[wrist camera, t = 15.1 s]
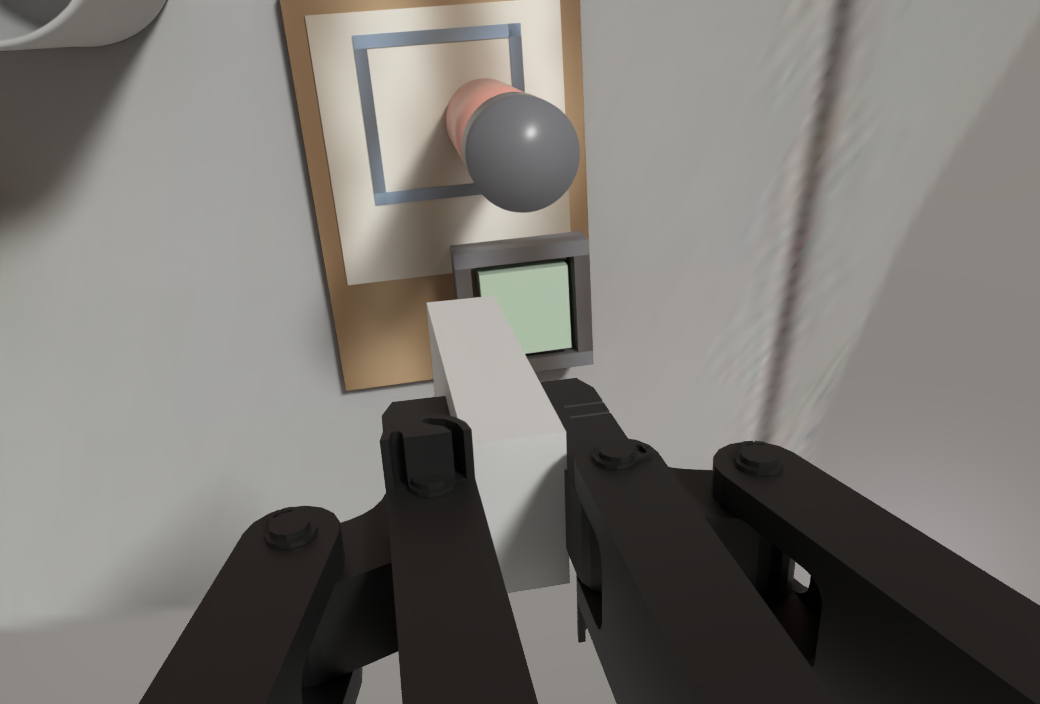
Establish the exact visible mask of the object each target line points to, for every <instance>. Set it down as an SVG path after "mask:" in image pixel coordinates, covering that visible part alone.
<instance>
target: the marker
mask: <svg viewBox="0 0 1040 704" xmlns="http://www.w3.org/2000/svg"><path fill="white" fill-rule="evenodd" d="M446 129H447V133H448V136H449V138H450V140H451V142H452V144H453V145H454V147H455V149H456V150H457V152H458V154H459V155H460V157H461V159H462V161H463V162H464V164H465V167H466V169H467V171H468V173H469V175H470V177H471V179H472V180H473V182H474V184H475V185H476V187H477V188H478V190H479V191H480V193H481V194H482V195H483V196H484V197H485V198H486V199H487V200H488V201H490V202H491V203H493V204H494V205H496V206H498V207H500V208H502V209H504V210H507V211H512V212H519V213H526V212H534V211H538V210H541V209H544V208H546V207H548V206H550V205H551V204H553V203H554V202H556V201H557V200H558V199H560V198H561V197H562V196H563V195H564V194H565V192H566V191H567V190H568V189H569V187H570V186H571V184H572V182H573V180H574V179H575V176H576V173H577V170H578V166H579V160H580V146H579V140H578V136H577V133H576V131H575V128H574V126H573V125H572V123H571V121H570V120H569V119H568V117H567V116H566V115H565V114H564V113H563V112H562V111H561V110H560V109H559V108H557V107H556V106H555V105H553V104H551V103H549V102H547V101H545V100H543V99H541V98H539V97H536V96H534V95H531V94H528V93H525V92H522V91H520V90H518V89H516V88H514V87H512V86H510V85H507V84H505V83H503V82H501V81H498V80H495V79H489V78H481V79H476V80H473V81H470V82H468V83H466V84H464V85H463V86H462V87H460V88H459V89H458V90H457V91H456V92H455V94H454V95H453V96H452V98H451V100H450V102H449V104H448V107H447V111H446Z"/></svg>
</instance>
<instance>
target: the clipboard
mask: <svg viewBox="0 0 1040 704" xmlns="http://www.w3.org/2000/svg"><path fill="white" fill-rule="evenodd" d="M280 5H281V11H282V16H283V22H284V28H285V34H286V40H287V46H288V52H289V58H290V63H291V69H292V75H293V81H294V87H295V93H296V99H297V105H298V111H299V116H300V122H301V128H302V134H303V140H304V146H305V152H306V158H307V163H308V169H309V175H310V181H311V187H312V193H313V199H314V205H315V211H316V216H317V222H318V228H319V234H320V240H321V246H322V252H323V258H324V263H325V269H326V275H327V281H328V287H329V293H330V299H331V305H332V311H333V316H334V322H335V328H336V334H337V340H338V346H339V352H340V358H341V363H342V369H343V375H344V381H345V387H346V391H349V390H356V389H364V388H371V387H379V386H386V385H393V384H401V383H408V382H416V381H423V380H431V379H433V368H432V358H431V347H430V336H429V325H428V314H427V303H428V302H437V301H447V300H457V299H467V298H477V297H478V292H477V282H476V271H475V268H479V267H487V266H496V265H504V264H513V263H522V262H530V261H539V260H547V259H556V258H562V259H563V261H564V262H565V263H566V264H567V265H568V285H569V306H570V327H571V347H572V348H564V349H557V350H549V351H542V352H534V353H527V354H525V355H526V357H527V359H528V361H529V363H530V365H531V366H532V368H533V370H534V372H539V371H547V370H554V369H561V368H569V367H576V366H583V365H591V364H593V340H592V313H591V286H590V259H589V233H588V206H587V179H586V152H585V125H584V98H583V72H582V45H581V18H580V0H280ZM481 78H489V79H495V80H498V81H501V82H503V83H505V84H507V85H510V86H512V87H514V88H516V89H518V90H520V91H522V92H525V93H528V94H531V95H534V96H536V97H539V98H541V99H543V100H545V101H547V102H549V103H551V104H553V105H555V106H556V107H557V108H559V109H560V110H561V111H562V112H563V113H564V114H565V115H566V116H567V117H568V119H569V120H570V121H571V123H572V125H573V126H574V128H575V131H576V133H577V136H578V140H579V146H580V160H579V166H578V170H577V173H576V176H575V179H574V180H573V182H572V184H571V186H570V187H569V189H568V190H567V191H566V192H565V194H564V195H563V196H562V197H561V198H560V199H558V200H557V201H556V202H554V203H553V204H551V205H550V206H548V207H546V208H544V209H541V210H538V211H534V212H526V213H519V212H512V211H507V210H504V209H502V208H500V207H498V206H496V205H494V204H493V203H491V202H490V201H488V200H487V199H486V198H485V197H484V196H483V195H482V194H481V193H480V191H479V190H478V188H477V187H476V185H475V184H474V182H473V180H472V179H471V177H470V175H469V173H468V171H467V169H466V167H465V164H464V162H463V161H462V159H461V157H460V155H459V154H458V152H457V150H456V149H455V147H454V145H453V144H452V142H451V140H450V138H449V136H448V133H447V129H446V111H447V107H448V104H449V102H450V100H451V98H452V96H453V95H454V94H455V92H456V91H457V90H458V89H459V88H460V87H462V86H463V85H464V84H466V83H468V82H470V81H473V80H476V79H481Z"/></svg>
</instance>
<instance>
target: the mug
mask: <svg viewBox="0 0 1040 704" xmlns="http://www.w3.org/2000/svg"><path fill="white" fill-rule="evenodd" d="M165 2H166V0H0V51H10V50H27V49H43V48H59V47H95V46H103V45H108V44H113V43H116V42H119V41H122V40H125V39H127V38H129V37H131V36H133V35H135V34H137V33H138V32H140V31H141V30H142V29H144V28H145V27H146V26H147V25H148V24H149V23H150V22H151V21H152V20H153V19H154V18H155V17H156V16H157V14H158V13H159V12H160V10H161V9H162V7H163V6H164V4H165Z"/></svg>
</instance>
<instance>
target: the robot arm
mask: <svg viewBox="0 0 1040 704" xmlns="http://www.w3.org/2000/svg"><path fill="white" fill-rule="evenodd" d="M427 314H428V325H429V336H430V347H431V358H432V368H433V379H434V390H435V397H431V398H423V399H415V400H407V401H398V402H392V403H391V404H390V406H389V407H388V408H387V410H386V411H385V412H384V414H383V415H382V425H383V433H382V436H381V439H380V447H381V455H382V463H383V471H384V479H385V487H386V494H385V495H384V497H383V499H382V500H381V501H380V502H379V503H378V504H377V505H376V506H375V507H374V508H372V509H371V510H369V511H368V512H366V513H364V514H363V515H360V516H358V517H355V518H353V519H351V520H348V521H345V522H342V523H340V521H339V520H338V519H337V517H336V516H335V514H334V513H332V512H330V511H328V510H326V509H324V508H321V507H312V506H299V507H288V508H284V509H281V510H277V511H275V512H272V513H270V514H267V515H266V516H264V517H262V518H261V519H259V520H257V521H255V522H254V523H253V524H252V525H251V526H250V527H249V528H248V529H247V530H246V531H245V532H244V533H243V535H242V536H241V538H240V540H239V541H238V543H237V544H236V546H235V548H234V549H233V551H232V553H231V554H230V556H229V558H228V559H227V561H226V562H225V564H224V566H223V567H222V569H221V571H220V572H219V574H218V575H217V577H216V579H215V580H214V582H213V584H212V585H211V587H210V588H209V590H208V592H207V593H206V595H205V597H204V598H203V600H202V602H201V603H200V605H199V606H198V608H197V610H196V611H195V613H194V615H193V616H192V618H191V619H190V621H189V623H188V624H187V626H186V628H185V629H184V631H183V632H182V634H181V636H180V637H179V639H178V641H177V642H176V644H175V646H174V647H173V649H172V650H171V652H170V654H169V655H168V657H167V659H166V660H165V662H164V663H163V665H162V667H161V668H160V670H159V672H158V673H157V675H156V677H155V678H154V680H153V682H152V683H151V685H150V686H149V688H148V689H147V691H146V693H145V694H144V696H143V698H142V699H141V701H140V703H139V704H355V703H356V700H357V697H358V693H359V690H360V687H361V683H362V667H363V666H365V665H368V664H370V663H372V662H374V661H377V660H379V659H381V658H384V657H386V656H388V655H390V654H393V653H395V652H398V651H399V663H400V677H401V690H402V702H403V704H538V702H537V698H536V694H535V691H534V688H533V684H532V680H531V677H530V673H529V669H528V666H527V662H526V659H525V655H524V651H523V648H522V644H521V641H520V637H519V634H518V630H517V627H516V623H515V619H514V616H513V612H512V608H511V605H510V601H509V598H508V594H507V593H511V592H517V591H523V590H530V589H536V588H541V587H547V586H554V585H560V584H566V583H570V578H569V577H570V575H569V556H570V559H571V561H572V564H573V566H574V568H575V571H576V573H577V623H578V624H577V625H578V642H585V630H586V629H587V628H588V631H589V633H590V636H591V639H592V641H593V644H594V646H595V649H596V652H597V654H598V657H599V659H600V662H601V664H602V667H603V670H604V672H605V675H606V677H607V680H608V683H609V685H610V688H611V690H612V693H613V695H614V698H615V700H616V703H617V704H1040V605H1038V604H1036V603H1035V602H1033V601H1031V600H1030V599H1028V598H1027V597H1025V596H1023V595H1022V594H1020V593H1018V592H1017V591H1015V590H1013V589H1012V588H1010V587H1009V586H1007V585H1006V584H1004V583H1003V582H1001V581H999V580H998V579H996V578H994V577H993V576H991V575H989V574H988V573H986V572H985V571H983V570H981V569H980V568H978V567H977V566H975V565H974V564H972V563H970V562H969V561H967V560H965V559H964V558H962V557H961V556H959V555H957V554H956V553H954V552H953V551H951V550H949V549H948V548H946V547H945V546H943V545H941V544H940V543H938V542H937V541H935V540H933V539H931V538H930V537H928V536H927V535H925V534H924V533H922V532H920V531H919V530H917V529H916V528H914V527H912V526H911V525H909V524H908V523H906V522H904V521H902V520H901V519H899V518H898V517H896V516H895V515H893V514H891V513H890V512H888V511H886V510H885V509H883V508H882V507H880V506H879V505H877V504H875V503H874V502H872V501H871V500H869V499H867V498H866V497H864V496H862V495H861V494H859V493H858V492H856V491H854V490H853V489H851V488H850V487H848V486H846V485H845V484H843V483H841V482H840V481H838V480H837V479H835V478H833V477H832V476H830V475H829V474H827V473H825V472H824V471H822V470H821V469H819V468H817V467H816V466H814V465H813V464H811V463H809V462H808V461H806V460H805V459H803V458H801V457H800V456H798V455H796V454H795V453H793V452H791V451H789V450H787V449H784V448H782V447H780V446H776V445H772V444H768V443H765V442H760V441H755V442H753V441H744V442H740V443H734V444H729V445H727V446H725V447H723V448H721V449H719V450H718V451H717V453H716V454H715V455H714V457H713V470H693V469H679V468H671V467H668V466H667V464H666V463H665V462H664V460H663V459H662V457H661V456H660V455H659V453H658V452H657V451H656V450H655V449H653V448H652V447H651V446H650V445H648V444H645V443H643V442H640V441H638V440H633V439H628V438H627V436H626V435H625V433H624V432H623V430H622V429H621V428H620V426H619V425H618V423H617V422H616V420H615V419H614V417H613V416H612V414H611V413H609V410H608V408H607V407H606V405H605V404H604V403H602V399H601V398H600V396H599V395H598V393H597V392H596V390H595V389H594V388H593V387H591V386H590V385H588V384H586V383H584V382H582V381H580V380H579V379H577V378H572V379H564V380H556V381H547V382H540V381H539V380H538V378H537V376H536V374H535V372H534V370H533V368H532V366H531V365H530V363H529V361H528V359H527V357H526V355H525V353H524V351H523V349H522V348H521V346H520V344H519V342H518V340H517V338H516V336H515V334H514V332H513V331H512V329H511V327H510V325H509V323H508V321H507V319H506V317H505V315H504V314H503V312H502V310H501V308H500V306H499V304H498V302H497V300H496V298H495V297H494V296H486V297H477V298H467V299H457V300H447V301H437V302H428V303H427ZM795 562H796V563H798V564H799V565H800V566H802V567H803V568H804V569H805V570H806V571H807V572H808V573H809V574H810V575H811V578H810V585H809V588H807V587H805V586H803V585H802V584H801V583H799V582H798V581H797V580H796V579H794V569H795Z"/></svg>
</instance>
